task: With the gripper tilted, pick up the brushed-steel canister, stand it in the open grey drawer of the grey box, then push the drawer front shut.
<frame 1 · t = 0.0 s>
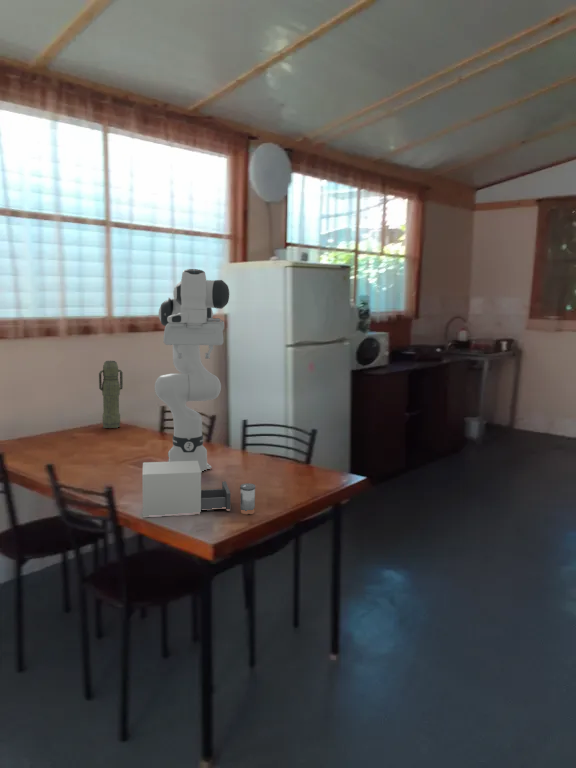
hand: (193, 358, 205), 48 cm above the table, tool pointing down, fingers open, 8 cm apart
thermos: (111, 427, 317), on the table
canister: (247, 512, 195), on the table
grey box: (171, 508, 196), on the table
grey drawer: (202, 497, 198), point 4 cm above the table, slide at 8.0 cm
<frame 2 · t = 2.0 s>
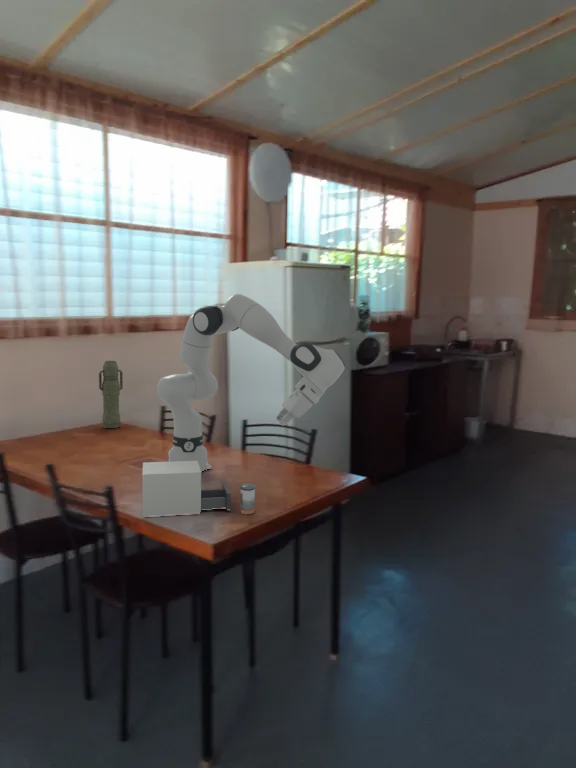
hand: (279, 422, 200), 28 cm above the table, tool tilted 45°, fingers open, 8 cm apart
nothing on the table moved.
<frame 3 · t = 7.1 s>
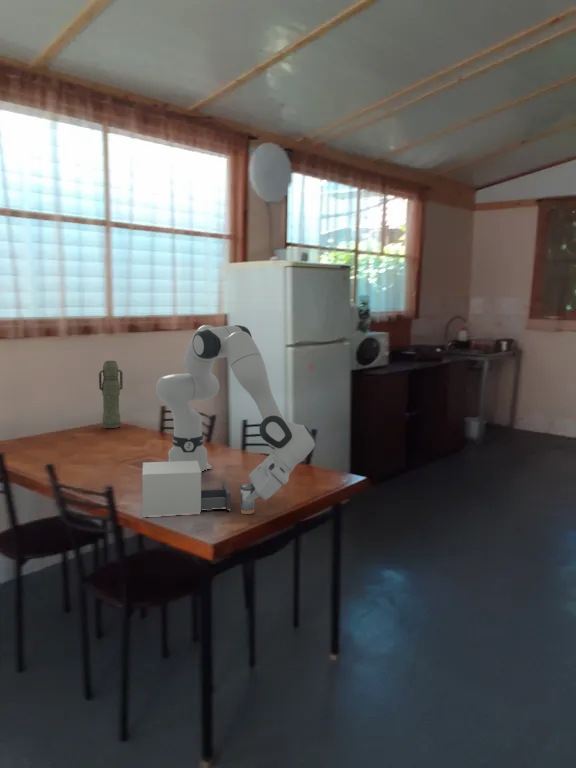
hand: (245, 498, 194), 5 cm above the table, tool tilted 45°, fingers closed on canister, 5 cm apart
canister: (247, 512, 195), on the table, touching gripper
everything else where it was.
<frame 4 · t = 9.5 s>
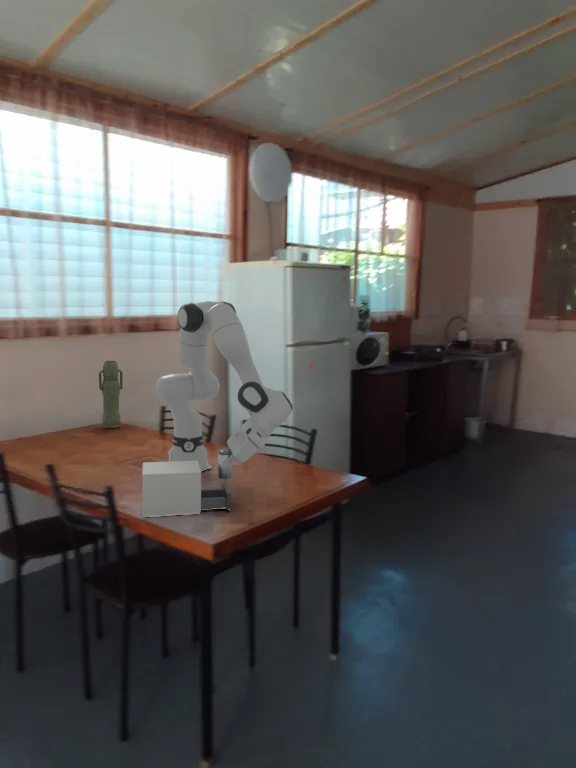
hand: (223, 462, 196), 15 cm above the table, tool tilted 45°, fingers closed on canister, 5 cm apart
canister: (224, 476, 197), point 11 cm above the table, touching gripper
everything else where it was.
when the fingers open (8 cm above the table, at t = 12.4 s): canister drops 1 cm, resting on grey drawer.
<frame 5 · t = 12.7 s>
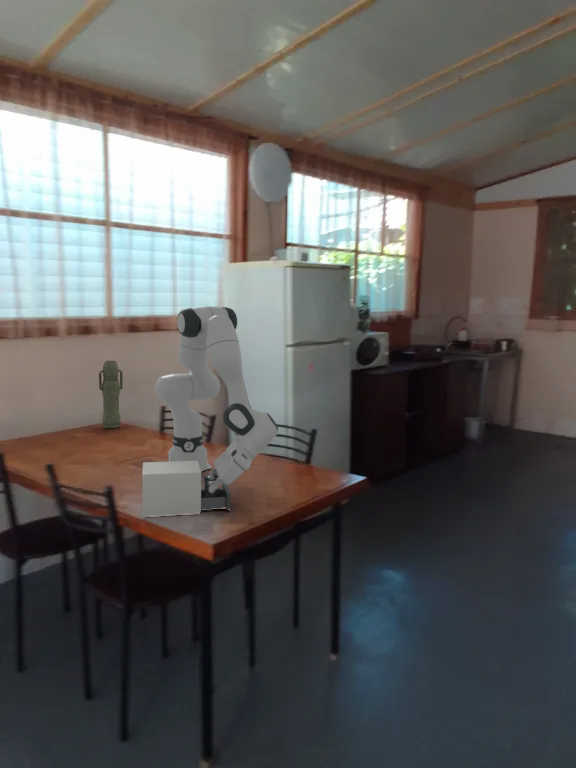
hand: (209, 484, 198), 8 cm above the table, tool tilted 45°, fingers open, 8 cm apart
canister: (211, 502, 199), point 1 cm above the table, touching grey drawer
grey drawer: (202, 497, 198), point 4 cm above the table, slide at 8.0 cm, touching canister
everything else where it was.
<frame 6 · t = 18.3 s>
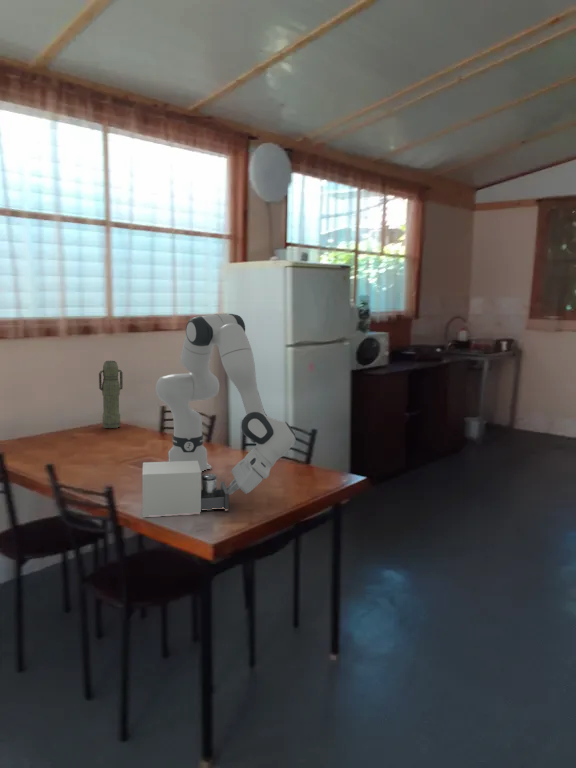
hand: (228, 492, 200), 5 cm above the table, tool tilted 45°, fingers closed, pressing on grey drawer
grey drawer: (200, 497, 198), point 4 cm above the table, slide at 7.4 cm, touching canister, gripper
everything else where it was.
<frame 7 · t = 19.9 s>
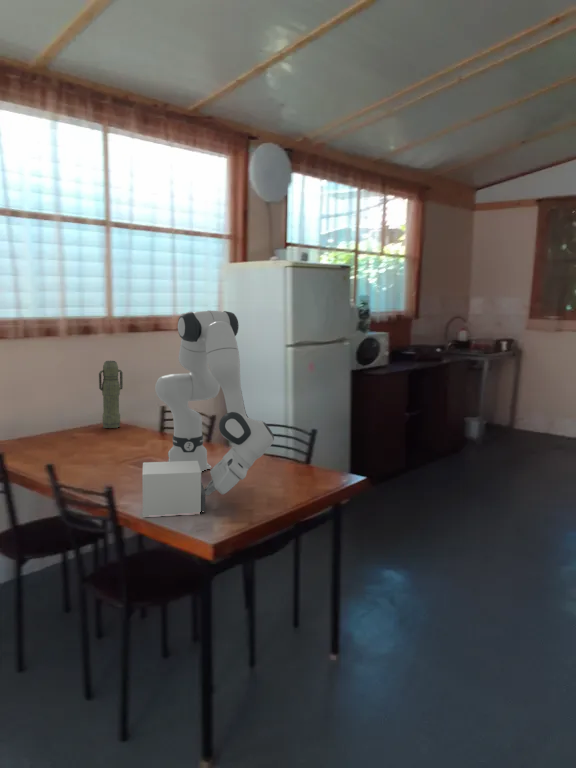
hand: (205, 493, 198), 5 cm above the table, tool tilted 45°, fingers closed, pressing on grey drawer
canister: (186, 503, 197), point 2 cm above the table, touching grey drawer
grey drawer: (177, 498, 196), point 4 cm above the table, slide at 0.0 cm, touching canister, gripper
everything else where it was.
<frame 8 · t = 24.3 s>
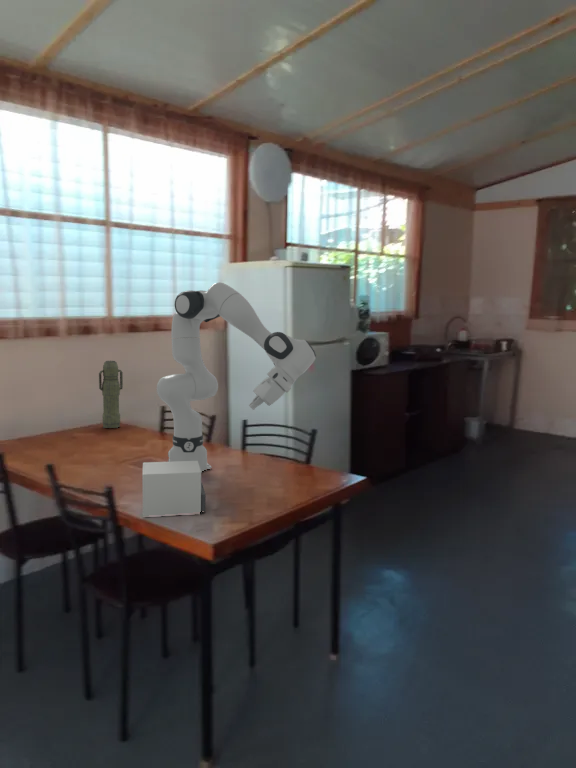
hand: (250, 407, 208), 31 cm above the table, tool tilted 45°, fingers closed
grey drawer: (177, 498, 196), point 4 cm above the table, slide at 0.0 cm, touching canister
everything else where it was.
at the end: grey drawer slide at 0.0 cm; canister inside the target area on the grey box (5.0 cm from its centre), point 1.6 cm above the grey box's base; canister tilted 2° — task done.
